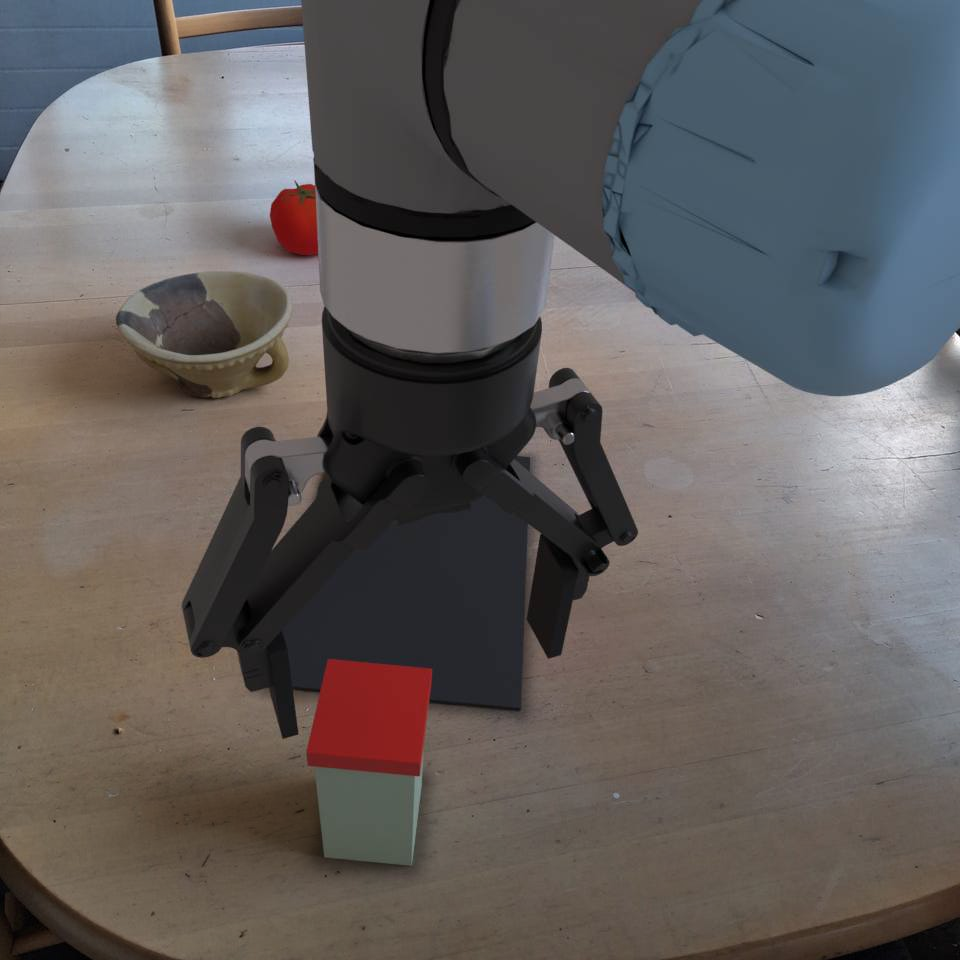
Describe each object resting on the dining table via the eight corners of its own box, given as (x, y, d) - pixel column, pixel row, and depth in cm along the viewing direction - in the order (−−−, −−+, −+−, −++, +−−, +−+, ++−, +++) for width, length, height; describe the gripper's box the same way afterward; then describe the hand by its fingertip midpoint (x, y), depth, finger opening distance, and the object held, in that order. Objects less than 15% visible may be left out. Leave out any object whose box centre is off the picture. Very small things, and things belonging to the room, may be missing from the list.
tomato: (293, 225, 126) (289, 167, 120) (359, 242, 124) (358, 183, 118) (258, 254, 120) (251, 194, 114) (326, 273, 117) (323, 212, 112)
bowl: (322, 350, 105) (317, 277, 98) (260, 447, 92) (250, 370, 85) (180, 323, 107) (167, 250, 100) (100, 414, 94) (78, 336, 87)
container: (415, 870, 61) (420, 763, 52) (318, 861, 61) (305, 752, 52) (426, 781, 66) (432, 668, 57) (336, 772, 66) (327, 658, 57)
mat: (520, 710, 71) (521, 708, 71) (267, 686, 71) (267, 684, 71) (529, 459, 93) (530, 456, 93) (336, 441, 93) (336, 438, 93)
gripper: (689, 210, 37) (605, 560, 51) (28, 299, 29) (148, 683, 43) (801, 306, 32) (674, 663, 46) (40, 445, 24) (171, 824, 38)
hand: (419, 673), depth 45 cm, fingers open, 13 cm apart
